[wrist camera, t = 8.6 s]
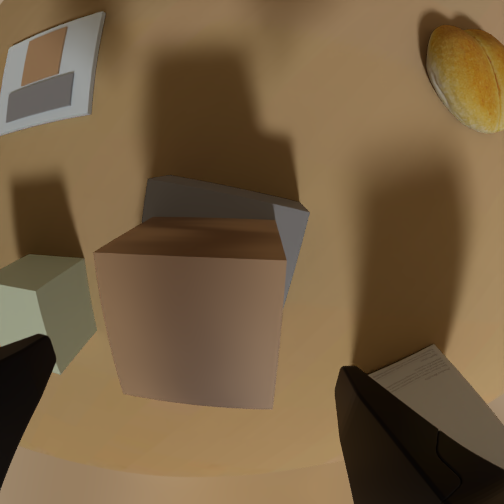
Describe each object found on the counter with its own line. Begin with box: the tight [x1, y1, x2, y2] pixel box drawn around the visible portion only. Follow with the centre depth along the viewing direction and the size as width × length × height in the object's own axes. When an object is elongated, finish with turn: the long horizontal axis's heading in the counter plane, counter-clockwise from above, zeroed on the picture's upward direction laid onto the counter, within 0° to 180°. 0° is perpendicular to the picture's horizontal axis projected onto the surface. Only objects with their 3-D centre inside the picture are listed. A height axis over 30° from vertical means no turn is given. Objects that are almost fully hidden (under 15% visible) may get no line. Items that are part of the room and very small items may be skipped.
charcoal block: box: [142, 175, 310, 307], centre depth 17 cm, size 8×8×4 cm
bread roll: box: [426, 25, 504, 134], centre depth 13 cm, size 8×9×4 cm
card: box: [0, 11, 106, 136], centre depth 14 cm, size 10×8×1 cm
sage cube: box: [0, 254, 97, 375], centre depth 17 cm, size 6×6×6 cm
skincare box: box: [368, 344, 504, 469], centre depth 15 cm, size 8×6×15 cm
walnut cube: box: [93, 217, 287, 409], centre depth 12 cm, size 6×6×6 cm
